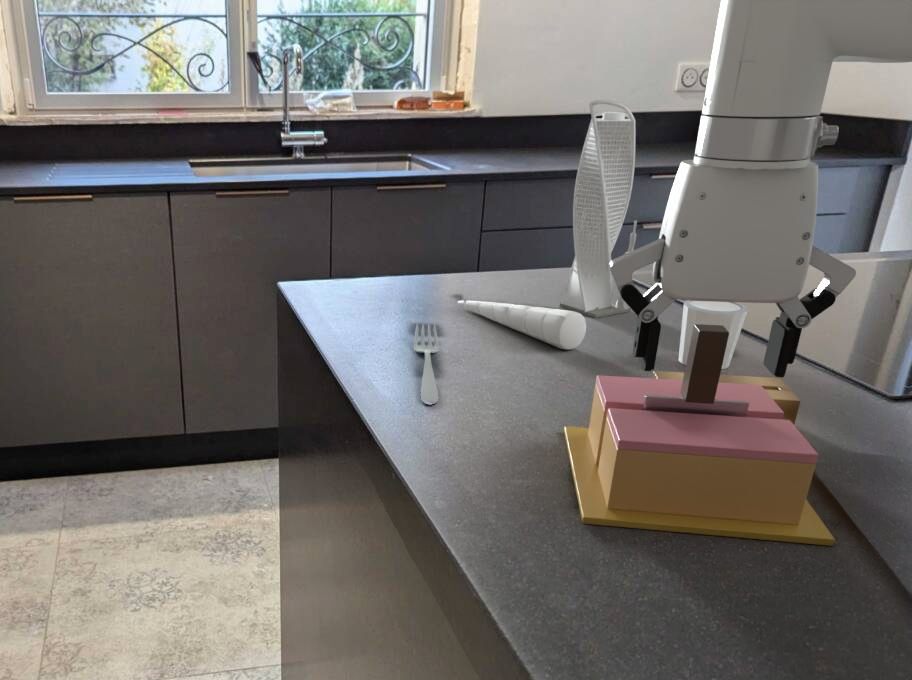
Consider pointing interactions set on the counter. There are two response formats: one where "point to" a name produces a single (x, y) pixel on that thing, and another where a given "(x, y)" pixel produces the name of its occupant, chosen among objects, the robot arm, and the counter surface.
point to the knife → (701, 378)
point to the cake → (693, 465)
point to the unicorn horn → (535, 321)
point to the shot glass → (712, 314)
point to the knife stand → (771, 385)
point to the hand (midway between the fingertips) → (708, 368)
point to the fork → (427, 364)
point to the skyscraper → (601, 211)
